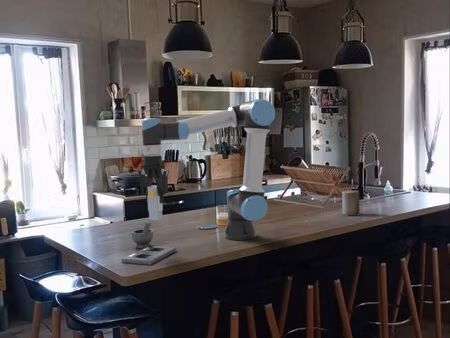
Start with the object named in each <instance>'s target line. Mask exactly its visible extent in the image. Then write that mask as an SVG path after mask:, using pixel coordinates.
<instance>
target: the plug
mask: <svg viewBox="0 0 450 338" xmlns="http://www.w3.org/2000/svg"><path fill="white" fill-rule="evenodd" d="M158 195H159V193H158V189H157V185H152V186H149V187H148V203H149V211H148V217H149V220H150V221H159V220H162V219H163V210H162V211H158V200H157V196H158ZM148 203H147V204H148Z"/></svg>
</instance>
